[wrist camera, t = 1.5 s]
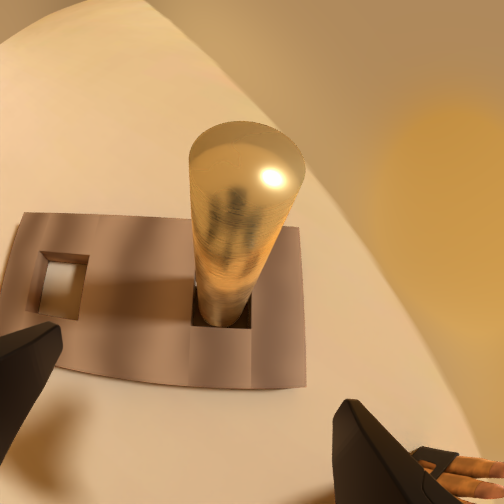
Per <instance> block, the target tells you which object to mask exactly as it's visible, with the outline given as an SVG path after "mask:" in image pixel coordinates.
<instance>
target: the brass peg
mask: <svg viewBox="0 0 504 504" xmlns="http://www.w3.org/2000/svg"><path fill="white" fill-rule="evenodd" d="M189 177H190V199H191V217H192V232H193V246H194V259H195V271H196V282H197V293H198V303H199V311H200V314H201V316H202V318H203V319H204V320H205V321H206V322H207V323H208V324H210V325H212V326H215V327H227V326H230V325H232V324H234V323H235V322H236V321H237V320H238V319H239V317H240V315H241V313H242V311H243V309H244V307H245V305H246V303H247V300H248V298H249V296H250V294H251V292H252V290H253V288H254V286H255V284H256V282H257V279H258V277H259V275H260V273H261V271H262V269H263V267H264V265H265V263H266V260H267V258H268V256H269V254H270V252H271V250H272V248H273V246H274V243H275V241H276V239H277V237H278V235H279V233H280V231H281V228H282V226H283V224H284V222H285V220H286V218H287V215H288V213H289V211H290V209H291V207H292V205H293V202H294V200H295V198H296V196H297V194H298V191H299V189H300V187H301V185H302V183H303V180H304V177H305V162H304V158H303V156H302V154H301V152H300V150H299V149H298V147H297V146H296V145H295V143H294V142H293V141H291V139H289V138H288V137H287V136H286V135H284V134H283V133H281V132H280V131H278V130H276V129H274V128H272V127H269V126H267V125H264V124H260V123H255V122H248V121H233V122H227V123H222V124H219V125H216V126H214V127H212V128H210V129H208V130H206V131H205V132H203V133H202V134H201V135H200V136H199V137H198V138H197V139H196V140H195V142H194V143H193V145H192V147H191V150H190V154H189Z"/></svg>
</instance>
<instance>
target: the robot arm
mask: <svg viewBox="0 0 504 504" xmlns="http://www.w3.org/2000/svg"><path fill="white" fill-rule="evenodd" d="M62 350H63V340H62V333H61V327H60V326H59V325H58V324H56V323H54V322H52V321H46V322H43V323H40V324H37V325H34V326H31V327H28V328H25V329H22V330H18V331H15V332H12V333H9V334H6V335H3V336H0V465H1V463H2V461H3V459H4V457H5V455H6V453H7V451H8V449H9V447H10V446H11V444H12V442H13V440H14V438H15V436H16V434H17V433H18V431H19V429H20V427H21V425H22V424H23V422H24V420H25V418H26V417H27V415H28V413H29V412H30V410H31V408H32V406H33V405H34V403H35V401H36V400H37V398H38V397H39V395H40V393H41V392H42V390H43V388H44V387H45V385H46V383H47V381H48V379H49V377H50V374H51V372H52V370H53V368H54V366H55V364H56V362H57V360H58V358H59V357H60V355H61V353H62ZM332 467H333V478H334V489H335V502H336V504H464V503H462V502H461V501H460V500H458V499H457V498H456V497H455V496H453V495H452V494H451V493H450V492H449V491H447V490H446V489H445V488H444V487H443V486H442V485H441V484H439V483H438V482H437V481H436V480H435V479H434V478H433V477H432V476H431V475H430V474H429V473H428V472H427V471H426V470H424V468H423V467H422V466H421V465H420V464H419V463H418V462H417V461H416V460H415V459H414V458H413V457H412V456H411V455H410V454H409V453H408V452H407V450H406V449H405V448H404V447H403V446H402V445H401V444H400V443H399V442H398V441H397V440H396V439H395V438H394V437H393V436H392V435H391V434H390V433H389V432H388V431H387V430H386V429H385V428H384V427H383V426H382V424H381V423H380V422H379V421H378V420H377V419H376V418H375V417H374V416H373V415H372V414H371V413H370V412H369V411H368V410H367V409H366V408H365V407H364V405H363V404H362V403H361V402H360V401H359V400H356V399H345V400H344V401H343V402H342V404H341V406H340V407H339V409H338V410H337V412H336V413H335V415H334V417H333V437H332Z"/></svg>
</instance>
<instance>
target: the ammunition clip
mask: <svg viewBox="0 0 504 504" xmlns="http://www.w3.org/2000/svg"><path fill="white" fill-rule="evenodd" d="M412 457H413V458H414V459H415V460H416V461H417V462H418V463H419V464H420V465H421V466H422V467H423V468H424V470H426V471H427V472H428V473H429V474H430V475H431V476H432V477H433V478H434V479H435V480H436V481H437V482H438V483H439V484H441V485H442V486H443V487H444V488H445V489H446V490H447V491H449V492H450V493H451V494H452V495H453V496H455V497H456V498H457V499H458V500H460V501H461V502H462V503H464V504H475V503H471V502H468V501H465V500H462V499H460V498H458V497H472V498H481V499H497V498H503V497H504V487H503V486H501V485H498V484H494V483H489V482H484V481H480V480H476V479H477V478H504V462H497V461H489V460H487V459H483V458H474V457H464V456H459V453H456V452H449V451H444V450H438V449H433V448H429V447H424V446H422V447H420V448H419V449H418V450H417V451H416V452H415V453H414V454H413V455H412ZM474 478H475V479H474Z"/></svg>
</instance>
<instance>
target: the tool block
mask: <svg viewBox="0 0 504 504" xmlns="http://www.w3.org/2000/svg"><path fill="white" fill-rule="evenodd" d="M49 261H58V262H68V263H79V264H88V266H87V271H86V276H85V281H84V286H83V292H82V297H81V303H80V310H79V317H78V321H77V320H70V319H64V318H59V317H53V316H48V315H42V314H38V310H39V304H40V299H41V294H42V289H43V284H44V280H45V275H46V271H47V267H48V263H49ZM195 281H196V271H195V259H194V246H193V232H192V219H178V218H161V217H142V216H122V215H98V214H70V213H29V212H24V214H23V217H22V220H21V222H20V225H19V228H18V231H17V234H16V237H15V240H14V243H13V247H12V250H11V253H10V257H9V260H8V264H7V268H6V272H5V276H4V280H3V284H2V288H1V293H0V336H3V335H6V334H9V333H12V332H15V331H18V330H22V329H25V328H28V327H31V326H34V325H37V324H40V323H43V322H46V321H52V322H54V323H56V324H58V325H59V326H60V327H61V333H62V340H63V350H62V353H61V355H60V357H59V358H58V360H57V362H56V364H55V366H58V367H63V368H67V369H72V370H76V371H81V372H86V373H91V374H96V375H102V376H108V377H114V378H120V379H127V380H134V381H141V382H149V383H158V384H168V385H179V386H192V387H209V388H238V389H271V388H300V387H306V344H305V317H304V296H303V278H302V262H301V247H300V234H299V227H287V226H282V228H281V231H280V233H279V235H278V237H277V239H276V241H275V243H274V246H273V248H272V250H271V252H270V254H269V256H268V258H267V260H266V263H265V265H264V267H263V269H262V271H261V273H260V275H259V277H258V279H257V282H256V284H255V286H254V288H253V290H252V292H251V294H250V296H249V298H248V329H235V328H215V327H198V326H193V309H194V294H195Z"/></svg>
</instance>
